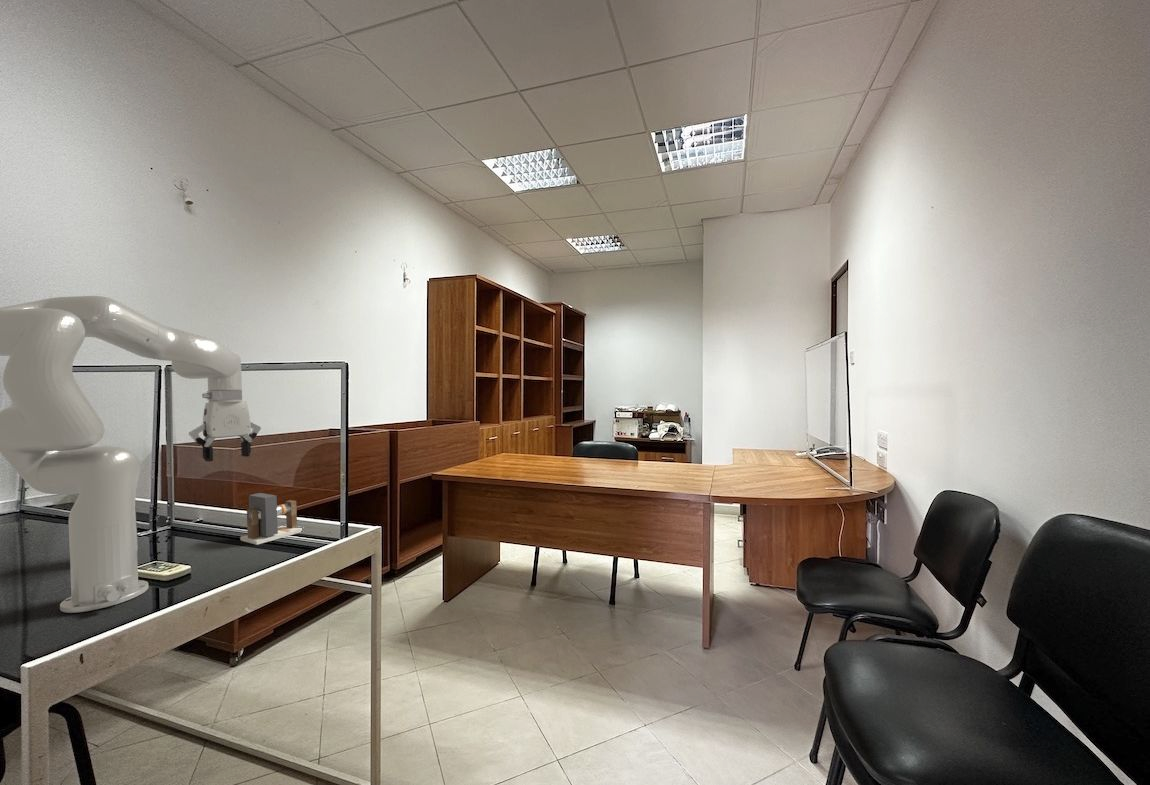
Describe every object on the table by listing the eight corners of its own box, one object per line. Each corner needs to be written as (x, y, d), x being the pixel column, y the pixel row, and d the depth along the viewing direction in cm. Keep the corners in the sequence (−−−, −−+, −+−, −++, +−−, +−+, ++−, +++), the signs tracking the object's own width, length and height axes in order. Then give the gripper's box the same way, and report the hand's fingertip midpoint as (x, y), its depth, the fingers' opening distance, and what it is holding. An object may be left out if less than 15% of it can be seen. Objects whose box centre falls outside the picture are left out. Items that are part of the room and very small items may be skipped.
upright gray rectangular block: (277, 533, 128) (276, 495, 128) (266, 536, 125) (265, 497, 125) (261, 529, 132) (260, 492, 132) (250, 532, 130) (248, 495, 130)
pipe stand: (304, 531, 134) (303, 501, 134) (256, 544, 123) (255, 512, 123) (288, 527, 139) (287, 498, 139) (240, 540, 127) (239, 509, 127)
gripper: (193, 397, 115) (195, 464, 115) (266, 395, 131) (268, 454, 131) (180, 398, 119) (183, 462, 119) (253, 396, 134) (255, 453, 134)
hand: (227, 458), depth 125 cm, fingers open, 8 cm apart
